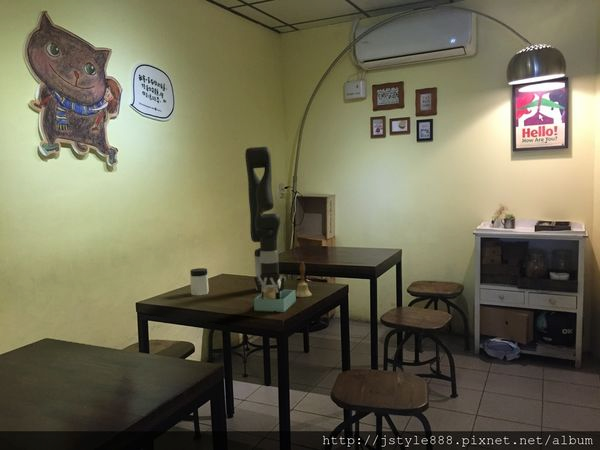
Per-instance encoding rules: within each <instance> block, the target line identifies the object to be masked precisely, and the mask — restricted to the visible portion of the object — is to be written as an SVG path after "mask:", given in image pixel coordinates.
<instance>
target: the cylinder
mask: <svg viewBox="0 0 600 450" xmlns="http://www.w3.org/2000/svg"><path fill="white" fill-rule="evenodd" d="M277 282H278V284H279V288H280V285H281V281H280V279H279V280H278V281H277ZM270 287H273V285H270ZM279 300H281V291H280V299H279Z"/></svg>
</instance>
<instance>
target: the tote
mask: <svg viewBox="0 0 600 450" xmlns="http://www.w3.org/2000/svg"><path fill="white" fill-rule="evenodd" d="M295 293H296V289H284V290H283V291H281V300H277V299H262V293H260V294H259V295H257V296H256V297H255V298H254V299H253V309H254V311H255V312H274V311H276V312H278V313H284V312H286V311H287V310H288V309H289V308H290V307H291V306H292V305H293V304H294V303H296V301H297V298H296V295H295Z"/></svg>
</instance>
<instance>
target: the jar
mask: <svg viewBox="0 0 600 450" xmlns="http://www.w3.org/2000/svg"><path fill="white" fill-rule="evenodd" d="M189 273H190V274H189V275H190V279H189V280H190V294H191V296H199V295H200V296H204V295H208V293H210V290H209V274H208V268H205V267H200V268H199V267H198V268H192V269H190V272H189Z"/></svg>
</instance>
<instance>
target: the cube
mask: <svg viewBox="0 0 600 450" xmlns="http://www.w3.org/2000/svg"><path fill="white" fill-rule="evenodd" d="M263 299H276V291H275V288H274V287H265V288H264V296H263Z"/></svg>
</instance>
